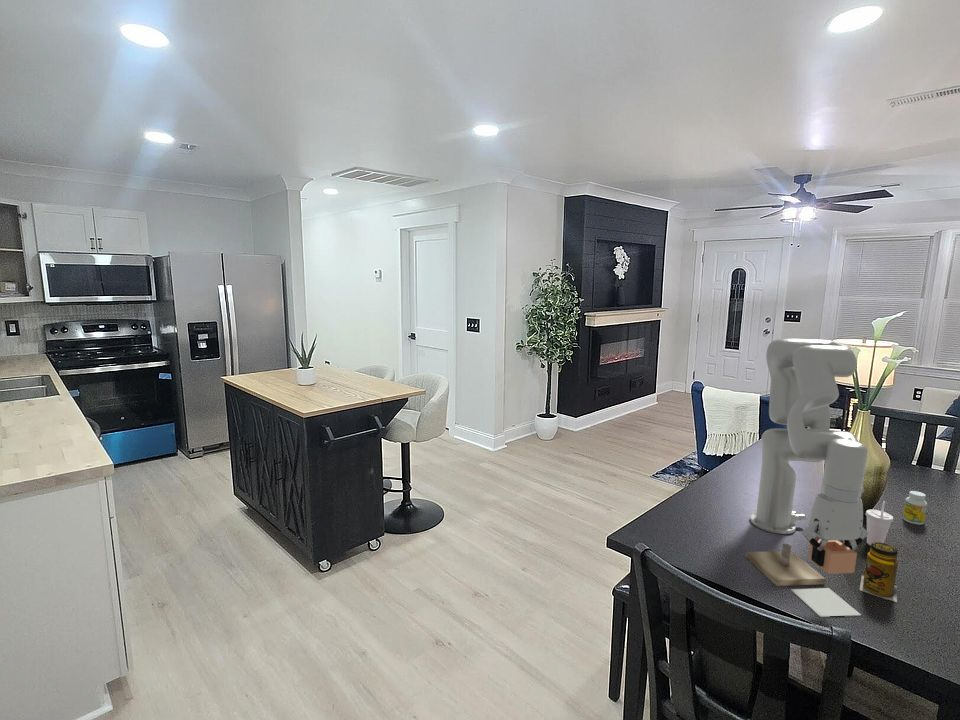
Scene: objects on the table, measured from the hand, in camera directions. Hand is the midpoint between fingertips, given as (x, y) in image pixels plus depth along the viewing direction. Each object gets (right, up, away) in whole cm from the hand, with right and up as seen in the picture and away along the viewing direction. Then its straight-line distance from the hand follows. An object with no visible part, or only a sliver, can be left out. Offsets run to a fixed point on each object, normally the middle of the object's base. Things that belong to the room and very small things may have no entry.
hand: (831, 562), depth 119 cm
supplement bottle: (+57, -4, +43) cm, 72 cm away
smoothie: (+33, -7, +29) cm, 44 cm away
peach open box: (0, -1, 0) cm, 1 cm away
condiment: (+18, -10, +8) cm, 22 cm away
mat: (0, -11, +2) cm, 11 cm away
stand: (-2, -8, +15) cm, 18 cm away
